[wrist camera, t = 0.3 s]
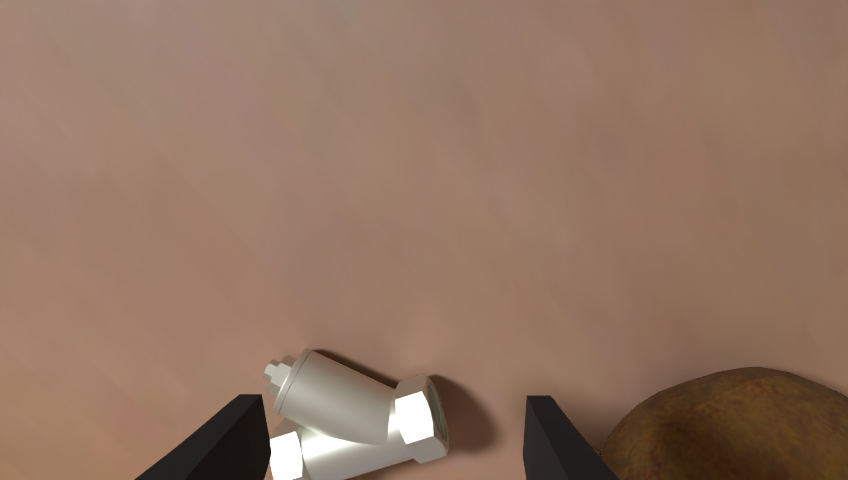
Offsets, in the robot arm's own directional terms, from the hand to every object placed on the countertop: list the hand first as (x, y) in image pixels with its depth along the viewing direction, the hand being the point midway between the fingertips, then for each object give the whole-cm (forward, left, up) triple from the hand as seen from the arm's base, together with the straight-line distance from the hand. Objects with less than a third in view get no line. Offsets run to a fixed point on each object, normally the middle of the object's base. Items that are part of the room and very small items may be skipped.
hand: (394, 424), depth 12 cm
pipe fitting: (-6, 0, -11) cm, 13 cm away
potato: (+3, -15, -11) cm, 19 cm away
